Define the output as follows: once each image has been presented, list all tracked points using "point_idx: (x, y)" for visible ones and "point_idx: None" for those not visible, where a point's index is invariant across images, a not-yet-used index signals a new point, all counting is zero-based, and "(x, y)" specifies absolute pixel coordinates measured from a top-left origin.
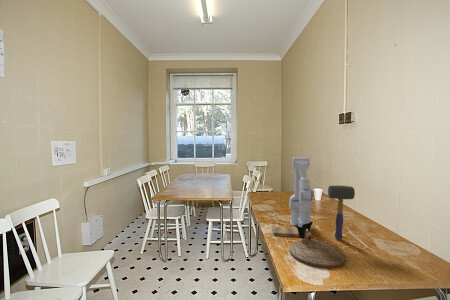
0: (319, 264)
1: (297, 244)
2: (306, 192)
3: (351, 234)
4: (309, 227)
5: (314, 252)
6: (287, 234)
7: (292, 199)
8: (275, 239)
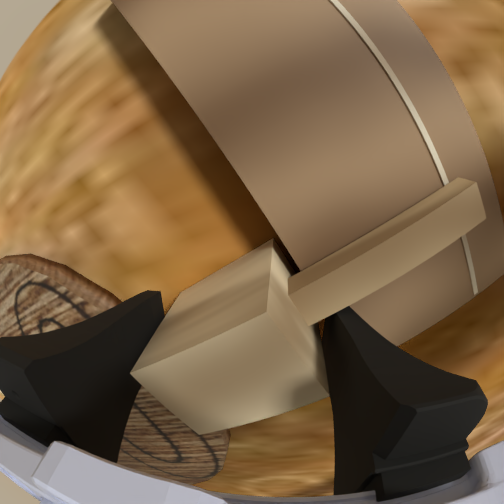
0: None
1: (34, 305)
2: None
3: (480, 442)
4: (335, 436)
5: None
6: (185, 93)
7: None
8: (46, 73)
